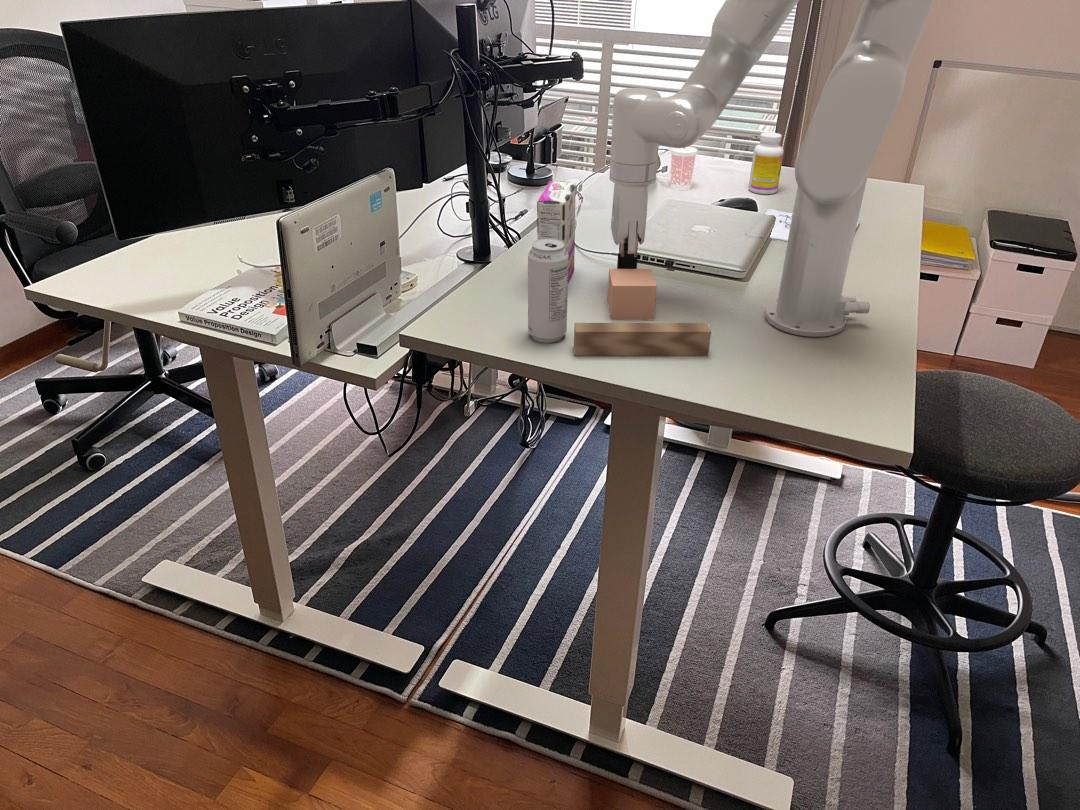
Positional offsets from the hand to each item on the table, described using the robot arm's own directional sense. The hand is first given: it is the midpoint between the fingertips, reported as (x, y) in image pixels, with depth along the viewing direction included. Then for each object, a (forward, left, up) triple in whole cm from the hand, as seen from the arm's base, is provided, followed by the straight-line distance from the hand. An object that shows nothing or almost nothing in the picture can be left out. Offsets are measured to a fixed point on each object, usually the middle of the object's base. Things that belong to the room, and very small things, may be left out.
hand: (626, 276), depth 143 cm
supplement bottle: (-38, -57, -3) cm, 68 cm away
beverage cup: (-19, -59, -3) cm, 62 cm away
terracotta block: (0, +8, -3) cm, 9 cm away
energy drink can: (+14, +17, -3) cm, 23 cm away
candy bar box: (+12, -4, -3) cm, 13 cm away
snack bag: (-40, -31, -3) cm, 51 cm away
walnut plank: (0, +23, -3) cm, 23 cm away
